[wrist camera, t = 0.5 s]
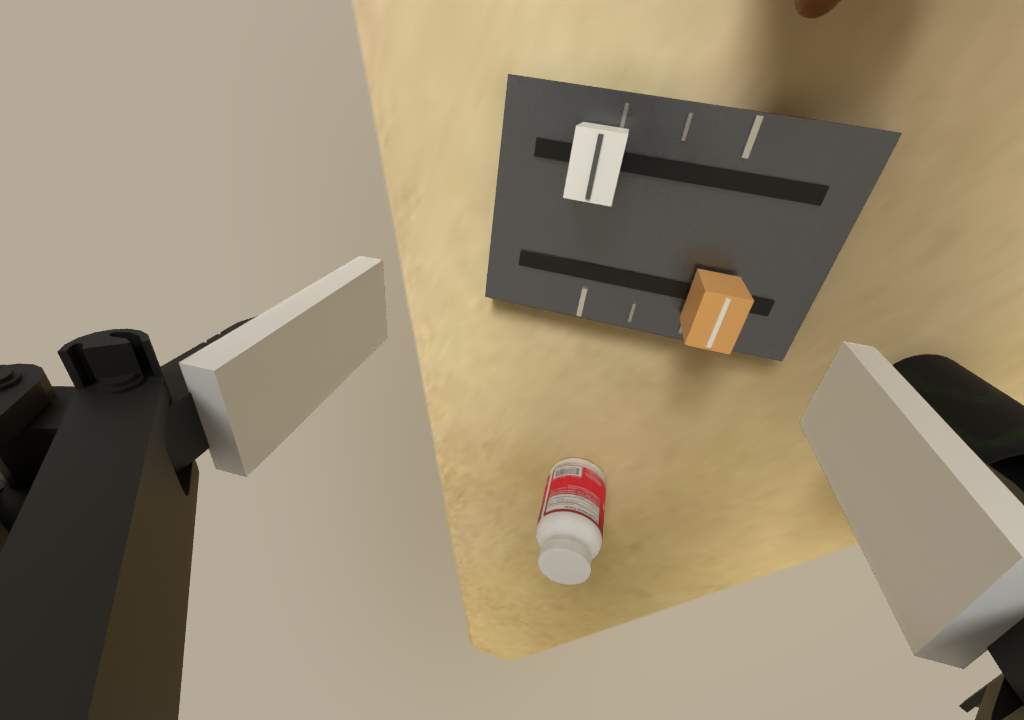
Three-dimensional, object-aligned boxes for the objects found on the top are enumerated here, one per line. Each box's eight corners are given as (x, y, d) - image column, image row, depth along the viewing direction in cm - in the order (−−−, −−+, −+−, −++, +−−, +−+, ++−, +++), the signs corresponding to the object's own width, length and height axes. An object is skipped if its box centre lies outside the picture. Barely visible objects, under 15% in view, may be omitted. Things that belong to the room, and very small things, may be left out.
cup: (867, 345, 35) (961, 447, 25) (993, 337, 33) (1153, 446, 23) (853, 425, 38) (930, 543, 28) (966, 423, 36) (1093, 550, 26)
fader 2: (697, 268, 32) (705, 291, 29) (740, 276, 32) (754, 301, 28) (679, 317, 35) (684, 345, 31) (719, 326, 34) (730, 355, 30)
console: (515, 75, 31) (507, 73, 30) (886, 130, 28) (904, 133, 26) (491, 288, 40) (484, 297, 38) (775, 349, 37) (782, 362, 35)
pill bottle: (582, 506, 51) (570, 599, 41) (538, 477, 50) (515, 564, 41) (619, 477, 47) (614, 571, 38) (571, 445, 47) (555, 533, 37)
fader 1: (583, 121, 30) (575, 125, 26) (629, 129, 29) (628, 134, 25) (571, 185, 32) (562, 198, 28) (614, 193, 31) (611, 206, 28)
